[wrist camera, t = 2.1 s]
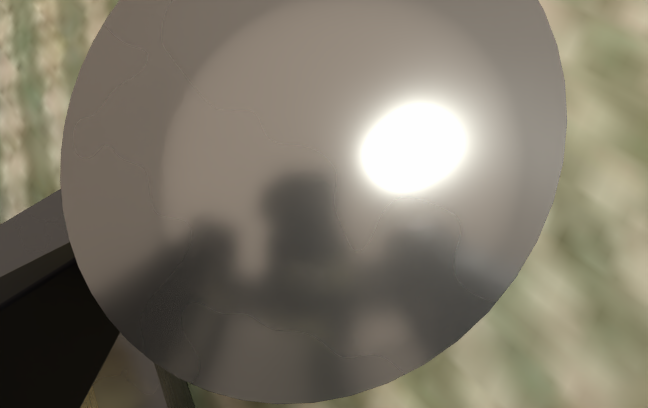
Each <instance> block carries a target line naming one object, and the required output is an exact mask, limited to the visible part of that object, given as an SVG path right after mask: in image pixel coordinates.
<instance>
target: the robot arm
mask: <svg viewBox="0 0 648 408" xmlns="http://www.w3.org/2000/svg"><path fill="white" fill-rule="evenodd" d="M119 334H120V331H119V330H118V329H117V328H116V327H115V326H114V324H113V323H112V322H111V321H110V320H109V319H108V318H107V316H106V315H105V313H104V312H103V310H102V309H101V307H100V305H99V304H98V302H97V301H96V299H95V298H94V296H93V295H92V293H91V291H90V289H89V287H88V285H87V283H86V281H85V279H84V277H83V275H82V273H81V271H80V269H79V267H78V264H77V261H76V258H75V255H74V252H73V249H72V246H71V243H70V242H68V243H66V244H64V245H63V246H61V247H59V248H57V249H55V250H53V251H51V252H49V253H47V254H45V255H43V256H41V257H39V258H37V259H35V260H33V261H31V262H29V263H27V264H25V265H23V266H21V267H19V268H17V269H15V270H13V271H11V272H9V273H7V274H5V275H3V276H1V277H0V408H80V407H81V406H82V404H83V402H84V400H85V398H86V396H87V394H88V392H89V391H90V389H91V387H92V385H93V383H94V381H95V379H96V377H97V376H98V374H99V372H100V370H101V368H102V366H103V364H104V362H105V361H106V359H107V357H108V355H109V353H110V351H111V349H112V347H113V346H114V344H115V342H116V340H117V338H118V336H119Z"/></svg>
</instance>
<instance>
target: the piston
mask: <svg viewBox="0 0 648 408" xmlns="http://www.w3.org/2000/svg"><path fill="white" fill-rule="evenodd" d="M566 128H567V110H566V92H565V80H564V75H563V70H562V66H561V61H560V56H559V52H558V47H557V43H556V41H555V38H554V35H553V33H552V30H551V28H550V25H549V22H548V20H547V17H546V15H545V12H544V10H543V8H542V6H541V4H540V3H539V1H538V0H119V2H118V3H117V4H116V6H115V7H114V9H113V10H112V11H111V13H110V14H109V16H108V17H107V19H106V20H105V22H104V24H103V26H102V27H101V29H100V31H99V32H98V34H97V36H96V38H95V39H94V41H93V43H92V45H91V47H90V49H89V52H88V54H87V56H86V58H85V60H84V62H83V65H82V67H81V69H80V72H79V75H78V78H77V81H76V84H75V86H74V89H73V92H72V95H71V99H70V103H69V108H68V112H67V116H66V120H65V125H64V133H63V141H62V148H61V175H60V183H61V194H62V205H63V213H64V218H65V222H66V227H67V232H68V237H69V241H70V243H71V246H72V249H73V252H74V255H75V258H76V261H77V264H78V267H79V269H80V271H81V273H82V275H83V277H84V279H85V281H86V283H87V285H88V287H89V289H90V291H91V293H92V295H93V296H94V298H95V299H96V301H97V302H98V304H99V305H100V307H101V309H102V310H103V312H104V313H105V315H106V316H107V318H108V319H109V320H110V321H111V322H112V323H113V324H114V326H115V327H116V328H117V329H118V330H119V331H120V332H121V334H122V335H123V336H124V337H125V338H126V339H127V340H128V341H129V342H130V343H131V344H132V345H133V346H135V347H136V348H137V349H138V350H139V351H140V352H142V353H143V354H144V355H145V356H146V357H147V358H149V359H150V360H151V361H152V362H154V363H155V364H157V365H159V366H160V367H162V368H163V369H165V370H167V371H168V372H170V373H171V374H173V375H175V376H176V377H178V378H180V379H182V380H184V381H186V382H189V383H191V384H193V385H196V386H198V387H200V388H202V389H205V390H207V391H210V392H213V393H217V394H221V395H225V396H228V397H232V398H236V399H239V400H245V401H254V402H263V403H272V404H292V403H315V402H320V401H325V400H331V399H336V398H342V397H347V396H352V395H354V394H357V393H360V392H363V391H366V390H369V389H372V388H375V387H378V386H381V385H384V384H387V383H389V382H391V381H393V380H395V379H397V378H399V377H401V376H403V375H405V374H407V373H409V372H411V371H412V370H414V369H416V368H418V367H420V366H422V365H424V364H426V363H427V362H428V361H430V360H431V359H433V358H434V357H435V356H437V355H438V354H440V353H441V352H443V351H444V350H445V349H447V348H448V347H450V346H451V345H452V344H454V343H455V342H457V341H458V340H459V339H460V338H461V337H462V336H463V335H464V334H466V333H467V332H468V331H469V330H470V329H471V328H472V327H473V326H474V325H475V324H476V323H477V322H478V321H479V320H480V319H481V318H482V317H484V316H485V315H486V314H487V313H488V312H489V311H490V309H491V308H492V307H493V306H494V304H495V303H496V302H497V301H498V299H499V298H500V297H501V296H502V294H503V293H504V292H505V291H506V289H507V288H508V287H509V286H510V284H511V283H512V282H513V281H514V279H515V278H516V276H517V275H518V273H519V271H520V270H521V268H522V266H523V264H524V263H525V261H526V259H527V258H528V256H529V254H530V253H531V251H532V249H533V247H534V246H535V244H536V242H537V240H538V238H539V236H540V233H541V231H542V228H543V226H544V223H545V221H546V218H547V216H548V214H549V211H550V209H551V206H552V204H553V201H554V197H555V193H556V189H557V185H558V181H559V177H560V173H561V169H562V165H563V159H564V149H565V138H566Z"/></svg>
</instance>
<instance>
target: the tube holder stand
mask: <svg viewBox="0 0 648 408" xmlns="http://www.w3.org/2000/svg"><path fill="white" fill-rule="evenodd" d="M68 242H70V241H69V237H68V232H67V227H66V222H65V218H64V213H63V205H62V194H61V189H60V190H58V191H56V192H55V193H53V194H51V195H50V196H48V197H46V198H45V199H43V200H41V201H39V202H38V203H36V204H34V205H33V206H31V207H29V208H28V209H26V210H24V211H23V212H21V213H19V214H18V215H16V216H14V217H13V218H11V219H9V220H8V221H6V222H4V223H3V224H1V225H0V277H1V276H3V275H5V274H7V273H9V272H11V271H13V270H15V269H17V268H19V267H21V266H23V265H25V264H27V263H29V262H31V261H33V260H35V259H37V258H39V257H41V256H43V255H45V254H47V253H49V252H51V251H53V250H55V249H57V248H59V247H61V246H63V245H64V244H66V243H68ZM80 408H195V407H194V404H193V401H192V398H191V394H190V391H189V388H188V385H187V382H186V381H184V380H182V379H180V378H178V377H176V376H175V375H173V374H171V373H170V372H168V371H167V370H165V369H163V368H162V367H160V366H159V365H157V364H155V363H154V362H152V361H151V360H150V359H149V358H147V357H146V356H145V355H144V354H143V353H142V352H140V351H139V350H138V349H137V348H136V347H135V346H133V345H132V344H131V343H130V342H129V341H128V340H127V339H126V338H125V337H124V336H123V335H122V334H121V332H120V334H119V336H118V338H117V340H116V342H115V344H114V346H113V347H112V349H111V351H110V353H109V355H108V357H107V359H106V361H105V362H104V364H103V366H102V368H101V370H100V372H99V374H98V376H97V377H96V379H95V381H94V383H93V385H92V387H91V389H90V391H89V392H88V394H87V396H86V398H85V400H84V402H83V404H82V406H81V407H80Z"/></svg>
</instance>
